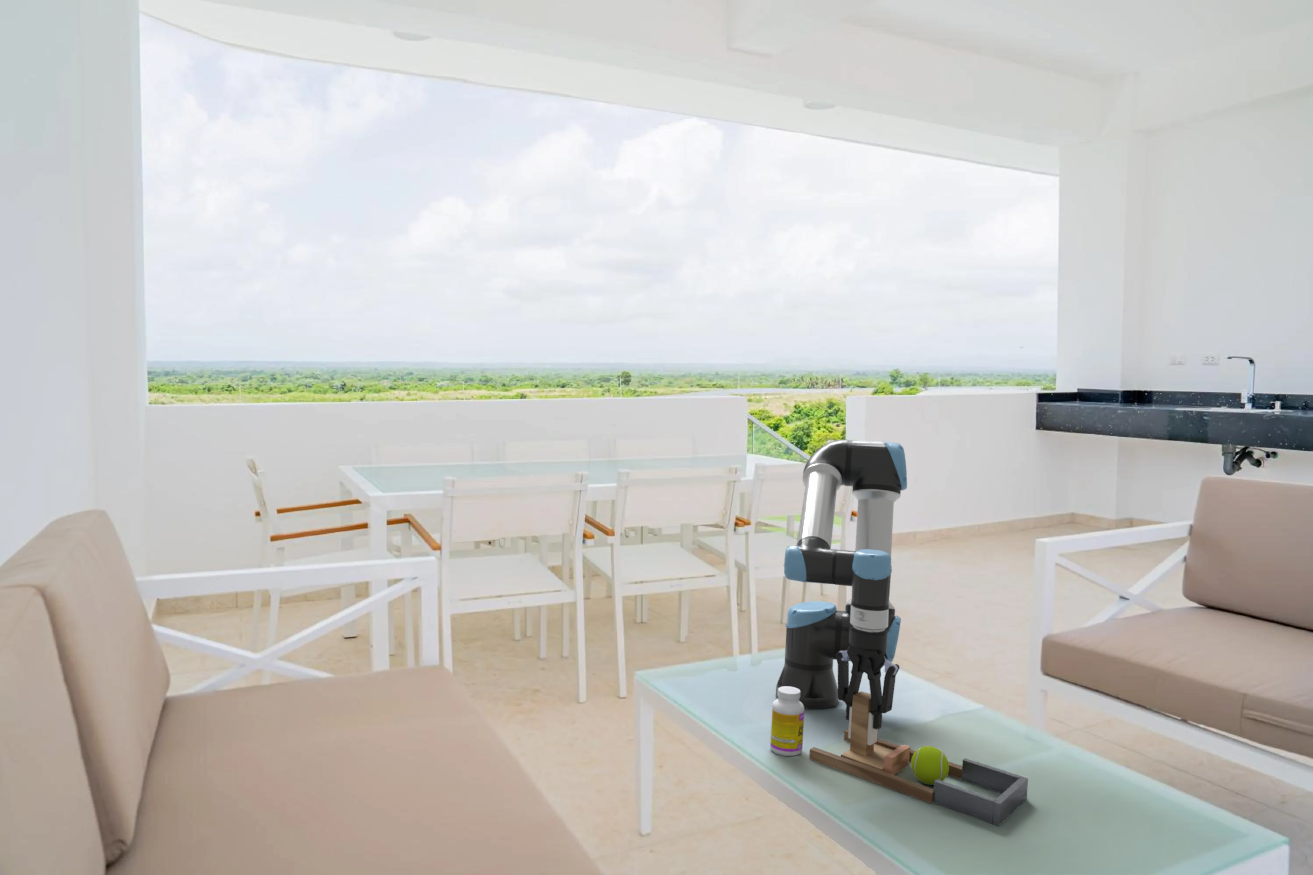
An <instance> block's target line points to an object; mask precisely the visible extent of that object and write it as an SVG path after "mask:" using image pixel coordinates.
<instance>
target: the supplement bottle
mask: <svg viewBox="0 0 1313 875" xmlns="http://www.w3.org/2000/svg"><path fill="white" fill-rule="evenodd" d="M777 694H778V698H776V699H775V700H774V701H773V702H772V705H771V723H770V724H771V726H770V741H769V742H770V743H769V744H770V745H769V747H770V750H771V752H773V753H775V754H777V755H780V756H786V757H794V756H797V755H800V754H801V753H802V751H803V745H804V744H803V742H804V741H803V740H804V722H805V721H804V720H805V708H804V705H803V704H802V703H801V702H800V701H799V698H800V690H799V689H798V688H795V687H790V686H782V687H779V688H778V693H777Z"/></svg>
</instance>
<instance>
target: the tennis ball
mask: <svg viewBox="0 0 1313 875" xmlns="http://www.w3.org/2000/svg"><path fill="white" fill-rule="evenodd" d="M948 762H949V759H948V758H947V756H946V754H945V753H943V751H942V750H940V749H939V748H937V747H935V746H931V745H926V746H922V747H919V748H918V749H916V750H915V753H914V754H913V756H912V759H911V762H910V767H911V770H912V774H913V775H914V776H915V778H916V779H917V780H918V781H919V782H921V783H923V784H925V785H928V786H934V781H935V780H937V779H938V780H941V781H944V782H945V780H946V779H947V777H948V776H949V775H948V772H949V763H948Z"/></svg>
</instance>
